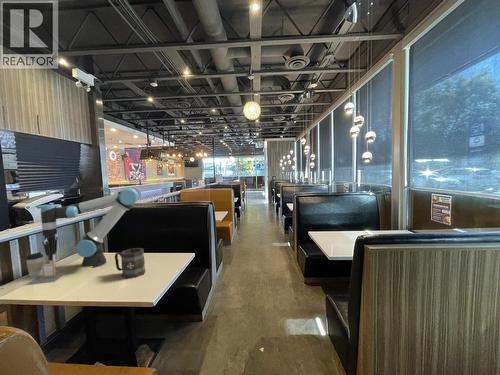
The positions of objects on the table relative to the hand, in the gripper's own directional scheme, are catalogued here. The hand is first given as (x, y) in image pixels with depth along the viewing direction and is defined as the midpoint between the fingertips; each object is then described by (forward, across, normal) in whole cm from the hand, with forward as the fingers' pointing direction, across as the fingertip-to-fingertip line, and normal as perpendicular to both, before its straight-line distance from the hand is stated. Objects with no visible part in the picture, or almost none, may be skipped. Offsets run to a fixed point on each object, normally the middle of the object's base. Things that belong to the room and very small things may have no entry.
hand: (52, 264), depth 169 cm
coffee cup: (+8, -3, -12) cm, 14 cm away
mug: (+7, +12, +51) cm, 53 cm away
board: (+8, +7, 0) cm, 11 cm away
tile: (+6, +4, 0) cm, 8 cm away
